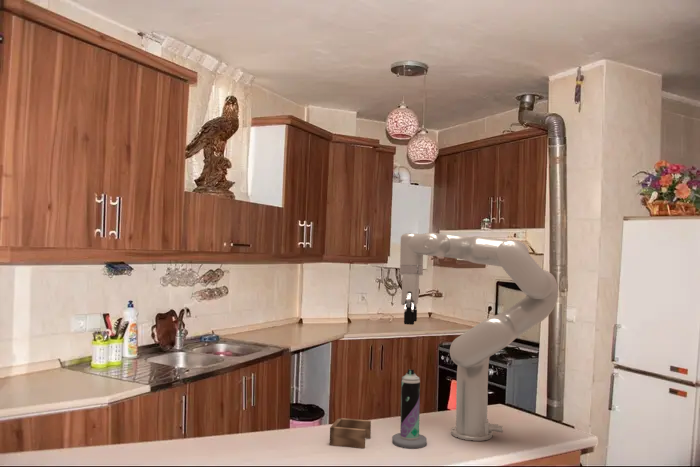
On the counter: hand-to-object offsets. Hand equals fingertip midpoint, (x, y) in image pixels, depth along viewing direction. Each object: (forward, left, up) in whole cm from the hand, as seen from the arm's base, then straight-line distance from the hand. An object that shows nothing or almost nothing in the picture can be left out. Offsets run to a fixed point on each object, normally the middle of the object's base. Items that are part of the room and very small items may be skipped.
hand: (410, 322), depth 185 cm
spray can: (-2, +18, -32) cm, 37 cm away
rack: (+15, +21, -33) cm, 42 cm away
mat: (-2, +18, -33) cm, 38 cm away
